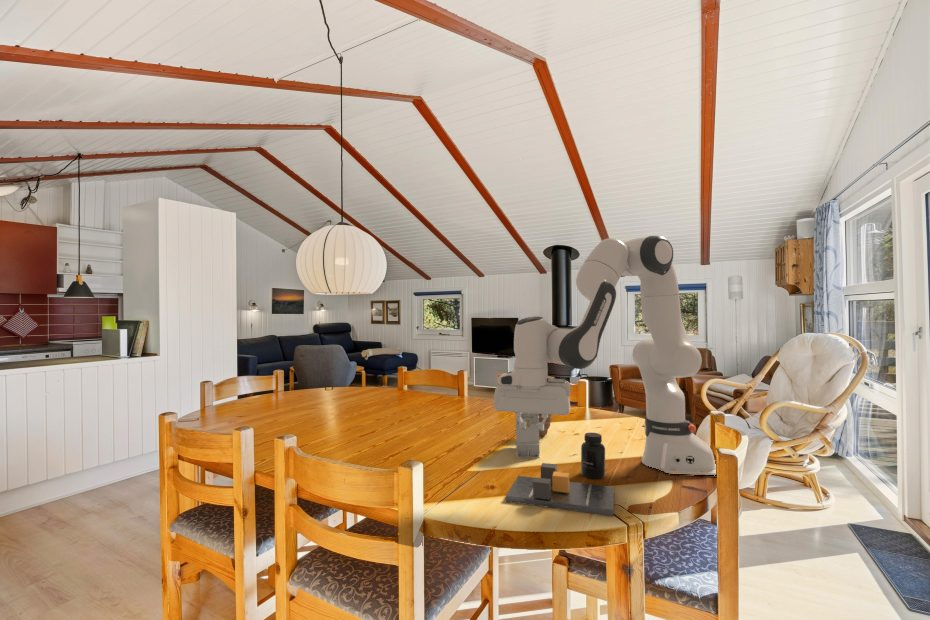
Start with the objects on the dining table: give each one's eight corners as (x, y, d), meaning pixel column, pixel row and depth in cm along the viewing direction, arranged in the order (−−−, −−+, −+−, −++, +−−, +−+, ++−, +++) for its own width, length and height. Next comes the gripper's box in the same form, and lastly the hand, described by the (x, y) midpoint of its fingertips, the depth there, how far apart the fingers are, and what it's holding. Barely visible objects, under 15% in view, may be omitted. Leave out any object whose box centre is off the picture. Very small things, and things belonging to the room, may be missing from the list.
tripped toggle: (569, 488, 115) (569, 473, 115) (568, 492, 112) (568, 477, 112) (554, 486, 117) (554, 471, 117) (552, 490, 114) (552, 475, 114)
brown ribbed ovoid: (544, 440, 163) (543, 392, 163) (527, 436, 169) (526, 390, 169) (557, 435, 170) (556, 389, 170) (540, 431, 175) (539, 386, 175)
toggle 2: (551, 494, 111) (550, 479, 111) (549, 499, 109) (548, 483, 109) (535, 492, 113) (535, 477, 113) (533, 497, 110) (532, 481, 110)
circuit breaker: (536, 444, 159) (536, 403, 159) (539, 458, 144) (538, 412, 144) (516, 444, 159) (515, 403, 159) (516, 457, 145) (516, 412, 145)
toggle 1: (557, 478, 122) (556, 464, 122) (555, 482, 119) (555, 468, 119) (542, 477, 123) (542, 462, 123) (540, 481, 120) (540, 466, 120)
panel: (614, 492, 117) (614, 486, 117) (613, 516, 103) (613, 508, 103) (518, 481, 125) (518, 475, 125) (506, 501, 112) (506, 494, 112)
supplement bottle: (582, 479, 126) (582, 437, 126) (579, 470, 133) (579, 431, 133) (607, 480, 125) (606, 438, 125) (603, 471, 132) (602, 431, 132)
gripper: (572, 377, 116) (572, 429, 116) (497, 374, 123) (498, 423, 123) (569, 381, 110) (570, 435, 110) (491, 377, 117) (492, 429, 117)
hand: (531, 429), depth 117 cm, fingers open, 3 cm apart
